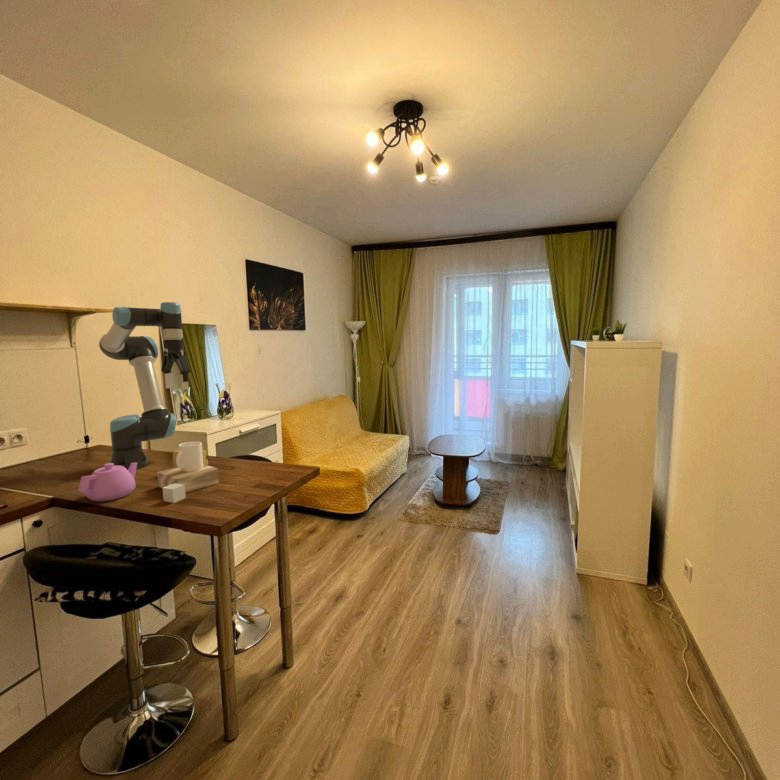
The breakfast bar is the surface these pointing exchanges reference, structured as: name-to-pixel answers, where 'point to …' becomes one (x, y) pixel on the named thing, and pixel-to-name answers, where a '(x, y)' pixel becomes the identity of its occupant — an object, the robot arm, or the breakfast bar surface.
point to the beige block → (174, 492)
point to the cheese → (178, 452)
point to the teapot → (109, 482)
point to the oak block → (189, 478)
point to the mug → (190, 456)
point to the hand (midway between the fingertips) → (176, 388)
